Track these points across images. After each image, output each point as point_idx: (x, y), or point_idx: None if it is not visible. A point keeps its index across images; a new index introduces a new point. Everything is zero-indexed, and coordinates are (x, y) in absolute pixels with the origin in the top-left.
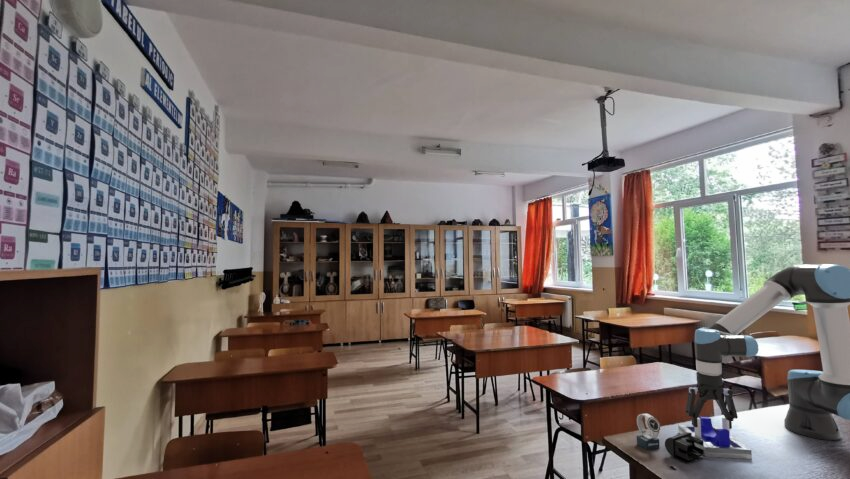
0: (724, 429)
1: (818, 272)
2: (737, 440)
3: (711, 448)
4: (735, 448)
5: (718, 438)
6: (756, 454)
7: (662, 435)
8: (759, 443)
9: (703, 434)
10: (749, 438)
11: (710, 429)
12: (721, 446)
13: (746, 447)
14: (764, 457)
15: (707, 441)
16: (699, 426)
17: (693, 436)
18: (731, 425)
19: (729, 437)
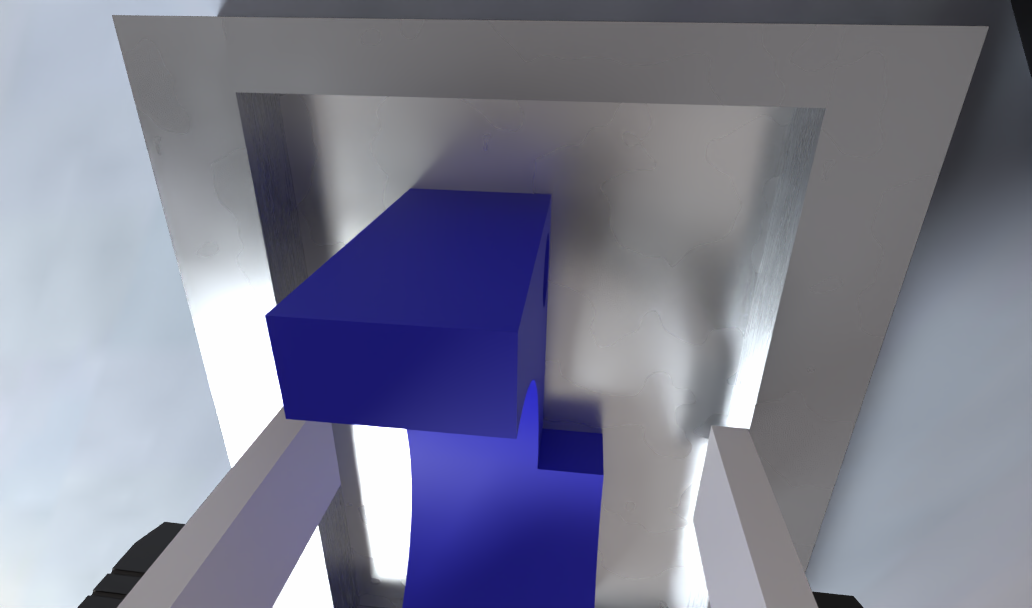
0: (341, 404)
1: None
2: (205, 357)
3: (843, 26)
4: (367, 46)
5: (539, 290)
6: (108, 183)
7: (993, 590)
8: (6, 437)
9: (599, 514)
10: (67, 523)
11: (451, 595)
12: (531, 203)
13: (159, 115)
14: (39, 105)
15: (603, 399)
16: (789, 590)
17: (823, 456)
18: (106, 578)
19: (337, 252)
